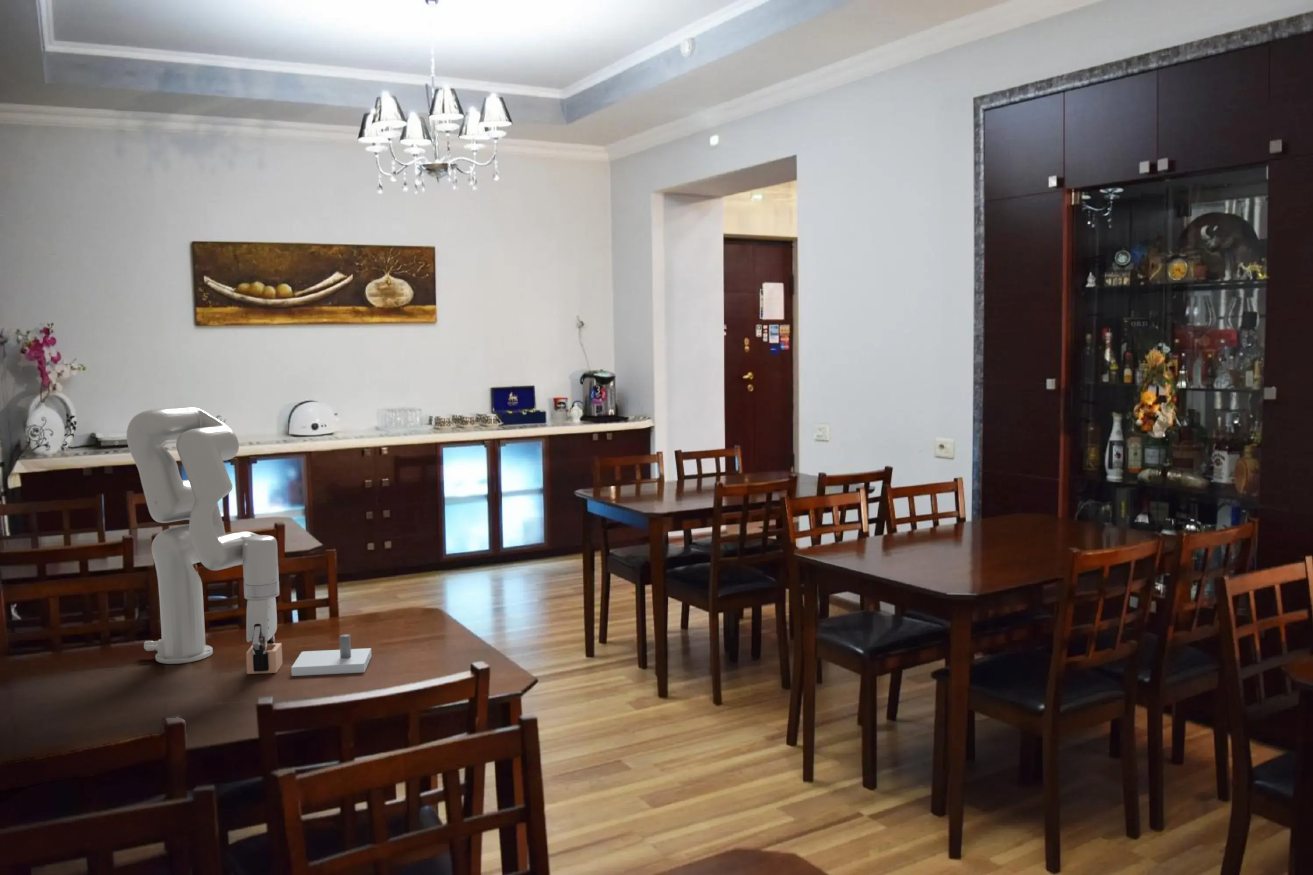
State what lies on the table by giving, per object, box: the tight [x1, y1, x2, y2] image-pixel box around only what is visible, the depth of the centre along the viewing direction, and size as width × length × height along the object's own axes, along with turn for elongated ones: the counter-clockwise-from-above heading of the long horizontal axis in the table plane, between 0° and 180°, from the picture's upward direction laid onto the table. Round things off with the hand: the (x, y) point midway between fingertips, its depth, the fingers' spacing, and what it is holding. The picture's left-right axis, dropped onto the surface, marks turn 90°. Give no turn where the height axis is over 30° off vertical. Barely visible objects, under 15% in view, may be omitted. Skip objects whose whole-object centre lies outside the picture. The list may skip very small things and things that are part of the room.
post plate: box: [290, 633, 372, 677], centre depth 241 cm, size 16×12×7 cm
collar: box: [245, 642, 283, 675], centre depth 239 cm, size 6×6×5 cm
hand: (264, 665), depth 239 cm, fingers closed on collar, 6 cm apart
